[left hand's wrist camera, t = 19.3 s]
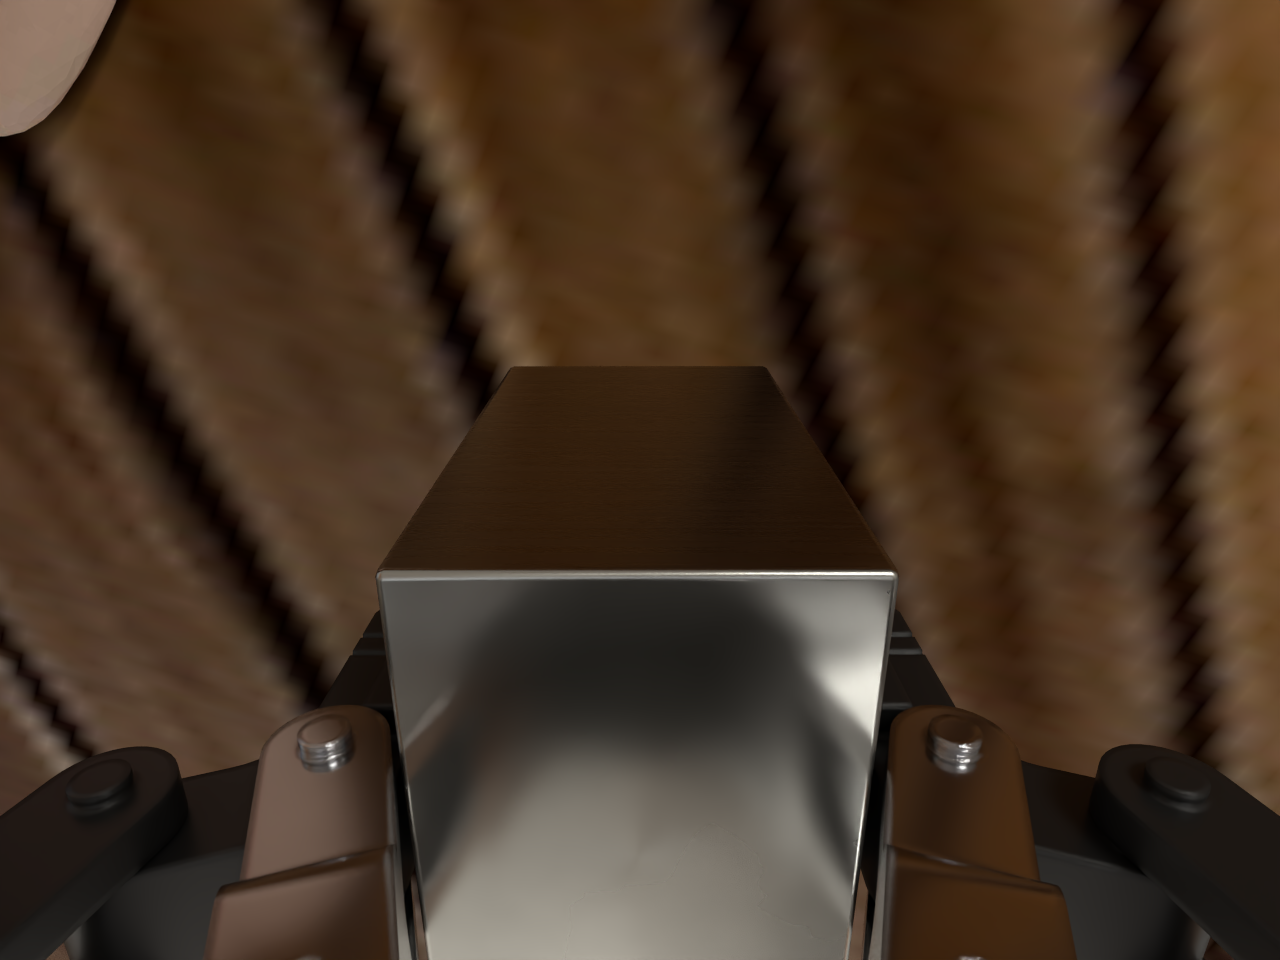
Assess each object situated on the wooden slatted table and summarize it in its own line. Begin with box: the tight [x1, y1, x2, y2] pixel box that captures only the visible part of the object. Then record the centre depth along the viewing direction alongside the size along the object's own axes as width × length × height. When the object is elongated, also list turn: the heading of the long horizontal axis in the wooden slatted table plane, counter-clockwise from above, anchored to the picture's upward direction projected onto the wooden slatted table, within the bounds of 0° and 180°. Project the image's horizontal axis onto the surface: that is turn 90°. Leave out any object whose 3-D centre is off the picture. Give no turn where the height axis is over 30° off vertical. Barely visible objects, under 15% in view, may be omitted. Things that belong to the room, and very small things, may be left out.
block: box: [375, 366, 899, 960], centre depth 12 cm, size 5×6×8 cm
